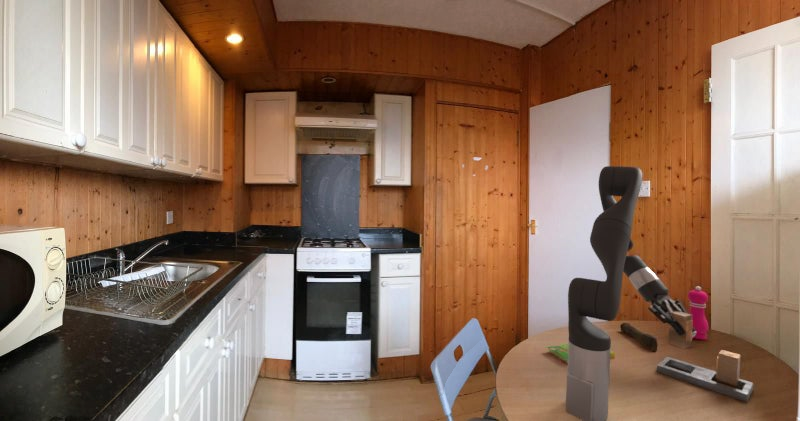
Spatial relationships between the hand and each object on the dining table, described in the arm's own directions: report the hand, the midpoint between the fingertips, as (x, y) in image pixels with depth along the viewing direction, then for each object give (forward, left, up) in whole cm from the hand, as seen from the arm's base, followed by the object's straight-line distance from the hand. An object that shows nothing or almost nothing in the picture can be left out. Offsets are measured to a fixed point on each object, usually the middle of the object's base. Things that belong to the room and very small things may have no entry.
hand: (687, 333), depth 105 cm
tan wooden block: (0, +2, -5) cm, 5 cm away
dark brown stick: (+19, +18, -14) cm, 29 cm away
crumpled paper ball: (+30, +7, -13) cm, 34 cm away
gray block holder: (0, -4, -13) cm, 14 cm away
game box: (-13, +26, -14) cm, 32 cm away
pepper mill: (+42, +6, -13) cm, 45 cm away
